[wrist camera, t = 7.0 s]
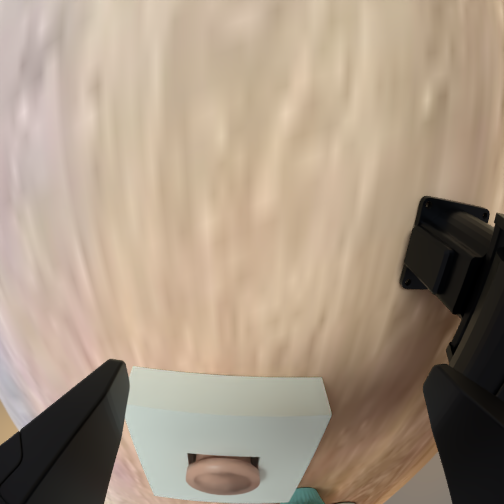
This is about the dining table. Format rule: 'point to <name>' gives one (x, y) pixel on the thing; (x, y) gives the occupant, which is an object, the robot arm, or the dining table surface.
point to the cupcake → (305, 497)
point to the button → (222, 474)
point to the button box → (225, 428)
